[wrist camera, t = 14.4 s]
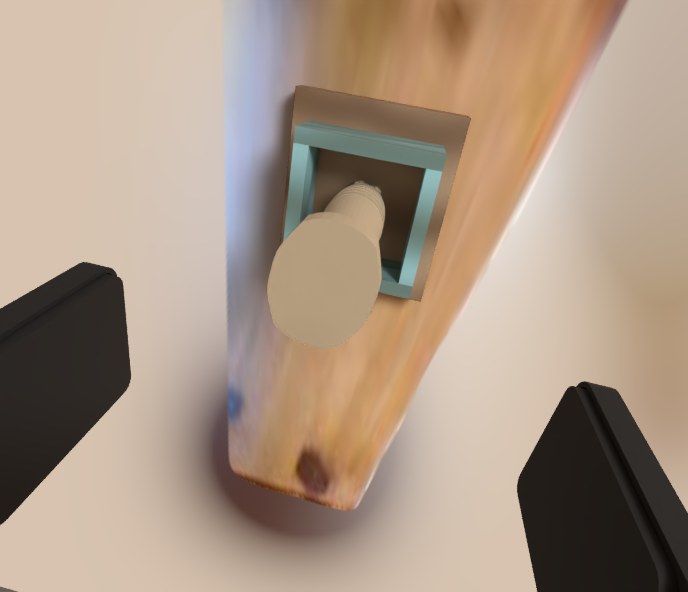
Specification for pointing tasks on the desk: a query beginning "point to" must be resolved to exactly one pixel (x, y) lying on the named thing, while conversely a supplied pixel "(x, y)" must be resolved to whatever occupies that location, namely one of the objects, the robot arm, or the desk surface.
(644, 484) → the robot arm
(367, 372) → the desk surface
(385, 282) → the teal open box
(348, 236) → the handle
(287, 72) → the desk surface
